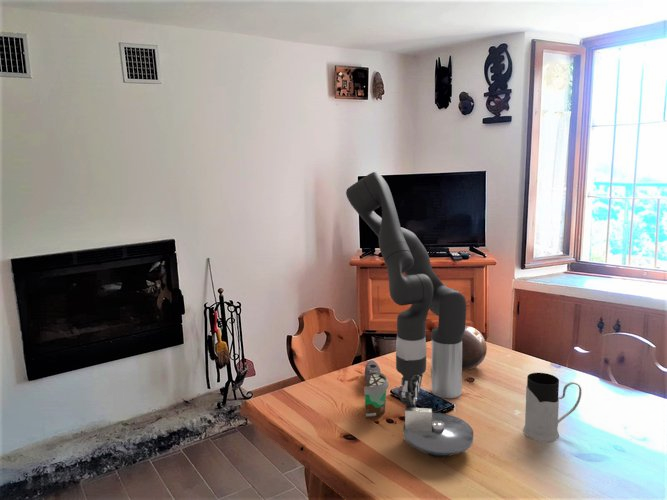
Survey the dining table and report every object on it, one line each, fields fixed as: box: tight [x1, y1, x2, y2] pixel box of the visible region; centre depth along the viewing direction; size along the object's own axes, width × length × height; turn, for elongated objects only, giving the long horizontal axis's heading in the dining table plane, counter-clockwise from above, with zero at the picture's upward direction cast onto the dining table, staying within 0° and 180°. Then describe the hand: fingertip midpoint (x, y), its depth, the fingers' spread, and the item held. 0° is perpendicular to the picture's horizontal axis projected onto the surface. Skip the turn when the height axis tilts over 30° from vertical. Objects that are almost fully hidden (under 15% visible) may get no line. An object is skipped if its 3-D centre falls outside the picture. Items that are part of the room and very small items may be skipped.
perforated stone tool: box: [364, 359, 382, 385], centre depth 161 cm, size 15×5×7 cm, turn 178°
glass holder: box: [522, 372, 582, 443], centre depth 127 cm, size 9×14×15 cm, turn 88°
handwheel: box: [403, 406, 474, 456], centre depth 121 cm, size 17×17×7 cm
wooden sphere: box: [462, 325, 487, 370], centre depth 170 cm, size 15×15×15 cm
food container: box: [363, 371, 390, 420], centre depth 141 cm, size 12×6×10 cm, turn 168°
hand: (410, 415), depth 126 cm, fingers closed
